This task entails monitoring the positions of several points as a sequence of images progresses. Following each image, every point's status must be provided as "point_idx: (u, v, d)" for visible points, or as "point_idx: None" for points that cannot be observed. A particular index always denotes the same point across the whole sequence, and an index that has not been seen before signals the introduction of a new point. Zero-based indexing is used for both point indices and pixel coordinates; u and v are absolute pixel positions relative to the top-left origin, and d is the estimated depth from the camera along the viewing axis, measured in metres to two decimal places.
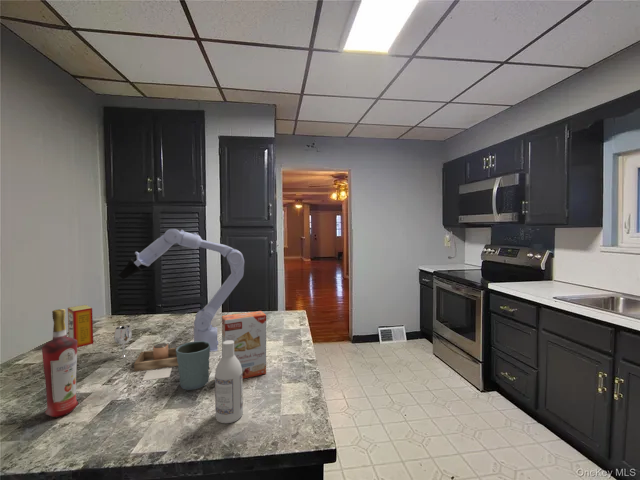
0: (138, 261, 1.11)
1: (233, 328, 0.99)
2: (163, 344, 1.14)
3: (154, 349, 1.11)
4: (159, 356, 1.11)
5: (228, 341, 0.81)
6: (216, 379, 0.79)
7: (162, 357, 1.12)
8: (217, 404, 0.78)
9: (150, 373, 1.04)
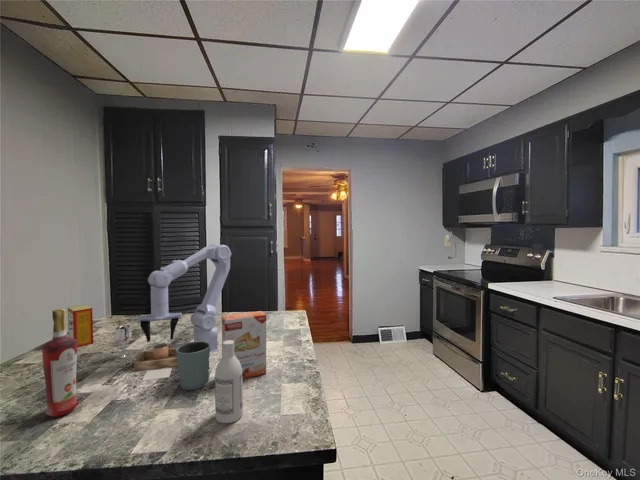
0: (181, 314, 1.15)
1: (233, 328, 0.99)
2: (163, 344, 1.14)
3: (154, 349, 1.11)
4: (159, 356, 1.11)
5: (228, 341, 0.81)
6: (216, 379, 0.79)
7: (162, 357, 1.12)
8: (217, 404, 0.78)
9: (150, 373, 1.04)
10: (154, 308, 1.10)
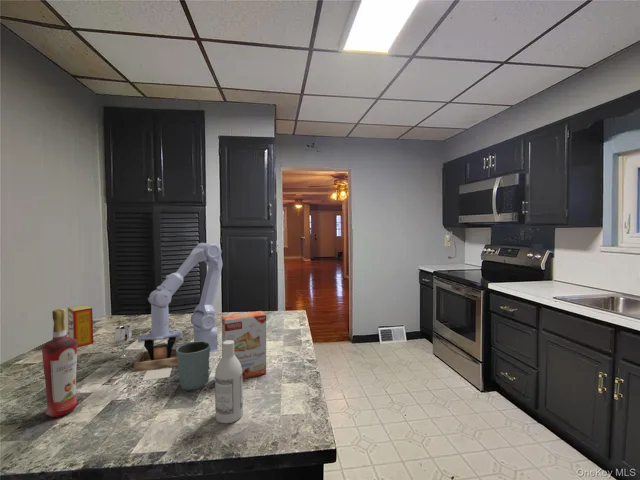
0: (181, 333, 1.15)
1: (233, 328, 0.99)
2: (163, 344, 1.14)
3: (154, 349, 1.11)
4: (159, 356, 1.11)
5: (228, 341, 0.81)
6: (216, 379, 0.79)
7: (162, 357, 1.12)
8: (217, 404, 0.78)
9: (150, 373, 1.04)
10: (155, 327, 1.10)
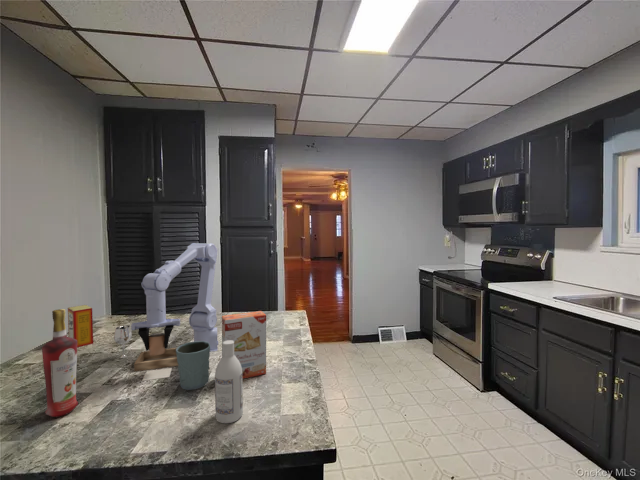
0: (179, 321, 1.05)
1: (233, 328, 0.99)
2: (160, 333, 1.05)
3: (150, 338, 1.02)
4: (155, 345, 1.01)
5: (228, 341, 0.81)
6: (216, 379, 0.79)
7: (159, 347, 1.02)
8: (217, 404, 0.78)
9: (150, 373, 1.04)
10: (150, 314, 1.00)
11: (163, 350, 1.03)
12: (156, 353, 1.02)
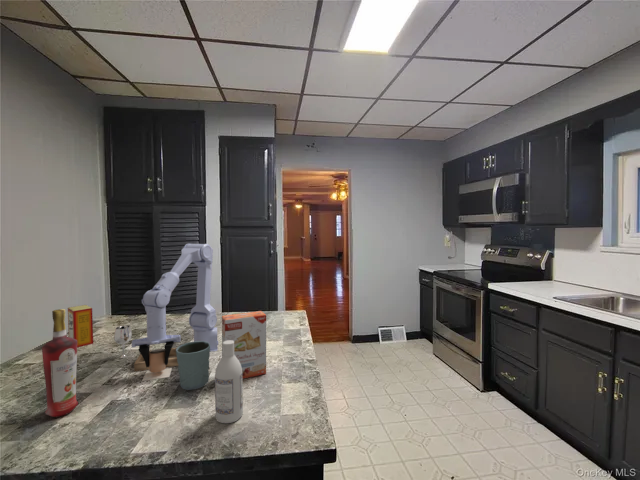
0: (180, 337, 1.06)
1: (233, 328, 0.99)
2: (160, 350, 1.05)
3: (150, 355, 1.02)
4: (155, 362, 1.02)
5: (228, 341, 0.81)
6: (216, 379, 0.79)
7: (159, 364, 1.02)
8: (217, 404, 0.78)
9: (150, 373, 1.04)
10: (151, 331, 1.00)
11: (163, 366, 1.03)
12: (156, 370, 1.02)
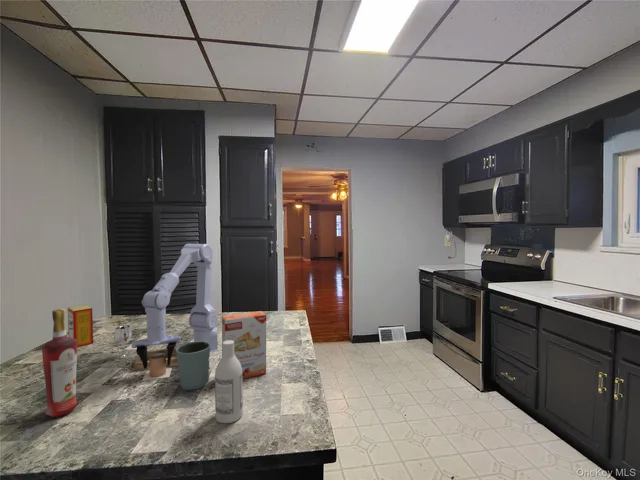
0: (180, 338, 1.06)
1: (233, 328, 0.99)
2: (160, 354, 1.05)
3: (150, 360, 1.02)
4: (155, 367, 1.02)
5: (228, 341, 0.81)
6: (216, 379, 0.79)
7: (159, 369, 1.02)
8: (217, 404, 0.78)
9: None
10: (151, 332, 1.00)
11: (163, 371, 1.04)
12: (157, 375, 1.02)
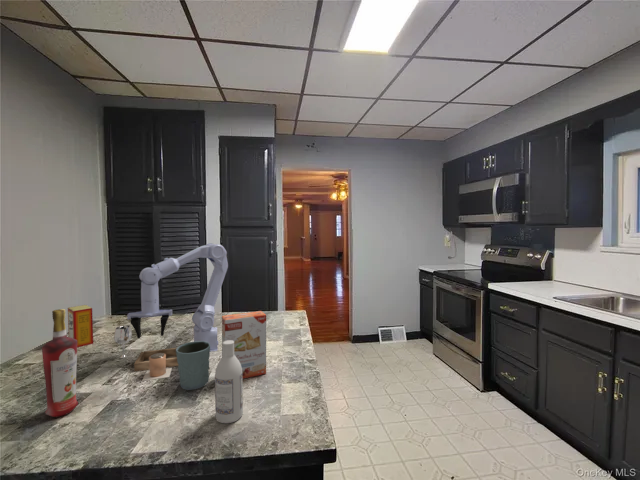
0: (171, 311, 1.16)
1: (233, 328, 0.99)
2: (160, 354, 1.05)
3: (150, 360, 1.02)
4: (155, 367, 1.02)
5: (228, 341, 0.81)
6: (216, 379, 0.79)
7: (159, 368, 1.02)
8: (217, 404, 0.78)
9: None
10: (145, 304, 1.11)
11: (164, 371, 1.04)
12: (157, 375, 1.02)
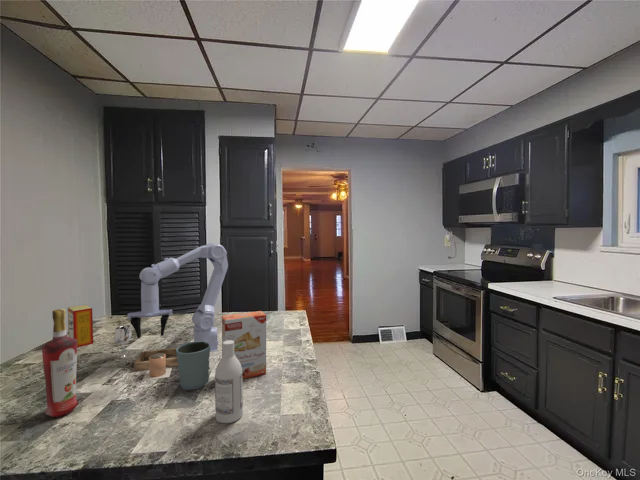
0: (171, 311, 1.16)
1: (233, 328, 0.99)
2: (160, 354, 1.05)
3: (150, 360, 1.02)
4: (155, 367, 1.02)
5: (228, 341, 0.81)
6: (216, 379, 0.79)
7: (159, 368, 1.02)
8: (217, 404, 0.78)
9: None
10: (145, 304, 1.11)
11: (164, 371, 1.04)
12: (157, 375, 1.02)
